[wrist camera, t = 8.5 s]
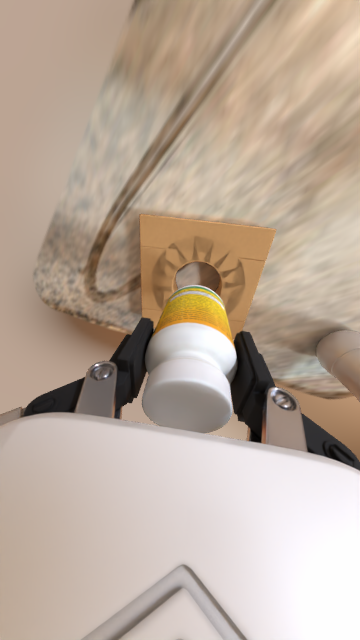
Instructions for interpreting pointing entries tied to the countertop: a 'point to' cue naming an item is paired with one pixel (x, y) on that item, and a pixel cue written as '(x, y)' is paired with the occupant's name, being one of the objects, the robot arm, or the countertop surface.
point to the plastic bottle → (342, 358)
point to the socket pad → (202, 246)
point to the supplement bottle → (190, 363)
